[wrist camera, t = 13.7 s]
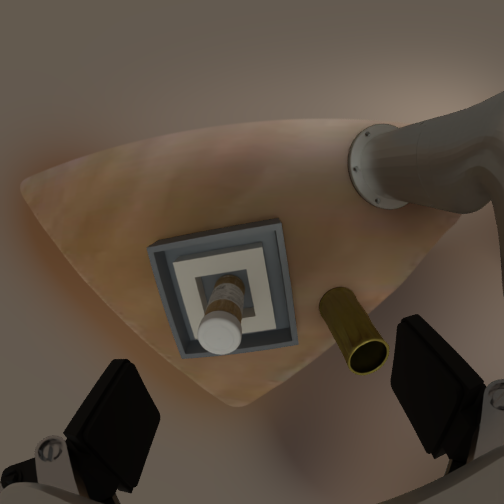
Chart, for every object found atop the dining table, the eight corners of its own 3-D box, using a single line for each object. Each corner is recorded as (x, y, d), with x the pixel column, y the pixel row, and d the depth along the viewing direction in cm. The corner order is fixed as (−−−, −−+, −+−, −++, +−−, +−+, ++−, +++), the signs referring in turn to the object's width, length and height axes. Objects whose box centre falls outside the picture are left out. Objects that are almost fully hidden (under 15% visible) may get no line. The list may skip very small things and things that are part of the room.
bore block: (261, 241, 38) (262, 247, 35) (274, 318, 41) (276, 328, 38) (178, 256, 38) (172, 262, 35) (198, 328, 41) (195, 339, 38)
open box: (278, 217, 37) (281, 222, 33) (294, 328, 42) (298, 344, 37) (157, 240, 38) (146, 247, 34) (188, 342, 43) (181, 358, 38)
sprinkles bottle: (220, 305, 40) (206, 359, 27) (210, 278, 39) (189, 324, 26) (249, 297, 40) (247, 351, 27) (240, 269, 39) (232, 314, 26)
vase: (344, 326, 42) (374, 382, 28) (312, 315, 41) (334, 373, 27) (362, 294, 40) (402, 342, 26) (330, 281, 40) (362, 329, 26)
